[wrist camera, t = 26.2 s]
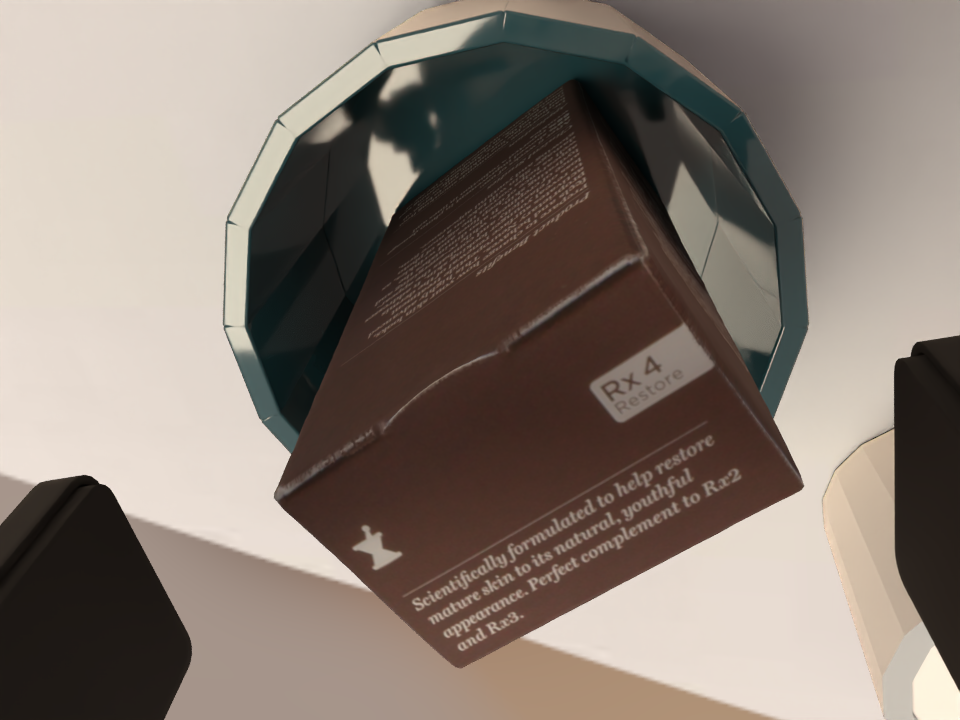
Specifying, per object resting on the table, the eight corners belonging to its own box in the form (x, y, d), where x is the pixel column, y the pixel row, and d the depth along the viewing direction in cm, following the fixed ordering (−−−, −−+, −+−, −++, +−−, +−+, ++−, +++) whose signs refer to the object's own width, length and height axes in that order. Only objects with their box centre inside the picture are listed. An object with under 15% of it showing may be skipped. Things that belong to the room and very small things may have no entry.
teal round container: (254, 49, 21) (131, 100, 14) (707, -62, 19) (786, -59, 13) (377, 424, 25) (323, 583, 19) (748, 362, 24) (821, 516, 17)
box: (493, 340, 23) (451, 688, 12) (388, 213, 22) (239, 485, 11) (682, 215, 21) (824, 500, 11) (581, 66, 20) (626, 221, 9)
